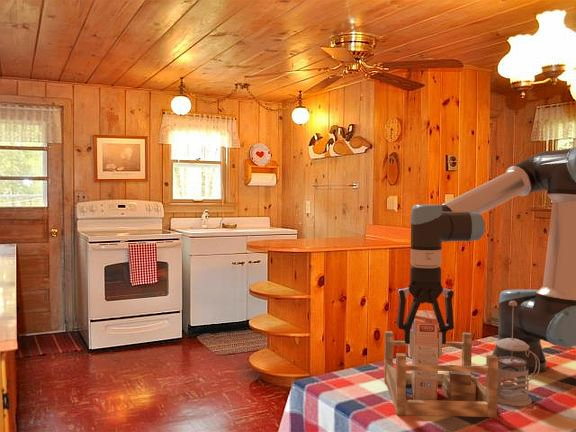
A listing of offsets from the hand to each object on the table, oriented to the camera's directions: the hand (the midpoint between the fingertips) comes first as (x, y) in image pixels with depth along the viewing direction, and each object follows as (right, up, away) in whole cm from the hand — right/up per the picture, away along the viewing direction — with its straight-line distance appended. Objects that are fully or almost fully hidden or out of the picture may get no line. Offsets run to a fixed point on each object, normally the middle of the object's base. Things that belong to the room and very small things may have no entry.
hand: (424, 356), depth 132 cm
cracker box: (0, -11, 0) cm, 11 cm away
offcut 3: (+9, -11, +2) cm, 15 cm away
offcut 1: (+9, -6, +1) cm, 11 cm away
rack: (+3, -11, 0) cm, 11 cm away
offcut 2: (+9, -9, +1) cm, 13 cm away
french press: (+23, -11, 0) cm, 25 cm away
